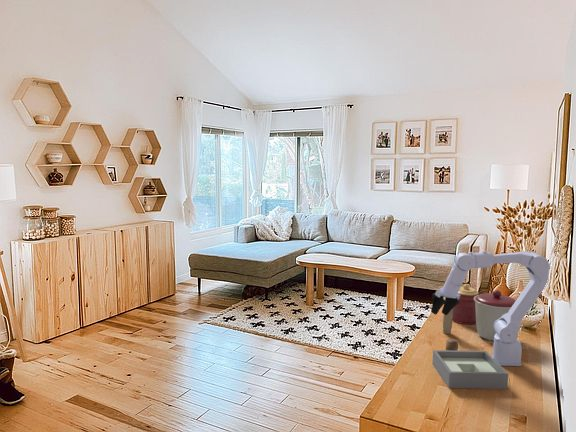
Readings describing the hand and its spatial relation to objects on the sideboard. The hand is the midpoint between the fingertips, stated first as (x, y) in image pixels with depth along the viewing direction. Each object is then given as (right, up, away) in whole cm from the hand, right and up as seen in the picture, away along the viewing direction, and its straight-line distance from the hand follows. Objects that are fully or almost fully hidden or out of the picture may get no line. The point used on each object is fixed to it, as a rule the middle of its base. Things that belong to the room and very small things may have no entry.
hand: (438, 313), depth 181 cm
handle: (+12, -14, +26) cm, 32 cm away
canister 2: (+31, -15, +23) cm, 41 cm away
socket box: (+6, -20, -13) cm, 24 cm away
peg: (+6, -17, +4) cm, 19 cm away
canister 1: (+26, -12, +43) cm, 52 cm away
